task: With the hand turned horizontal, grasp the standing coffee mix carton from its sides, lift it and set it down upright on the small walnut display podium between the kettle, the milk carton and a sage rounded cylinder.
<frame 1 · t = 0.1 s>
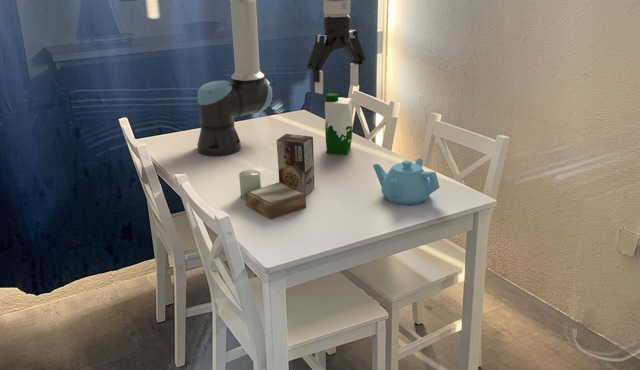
hand: (337, 89, 186), 28 cm above the table, tool pointing down, fingers open, 13 cm apart
milk carton: (339, 151, 220), on the table
teapot: (405, 197, 182), on the table
sage rounded cylinder: (251, 196, 185), on the table
coffee box: (297, 190, 189), on the table
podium: (275, 206, 177), on the table
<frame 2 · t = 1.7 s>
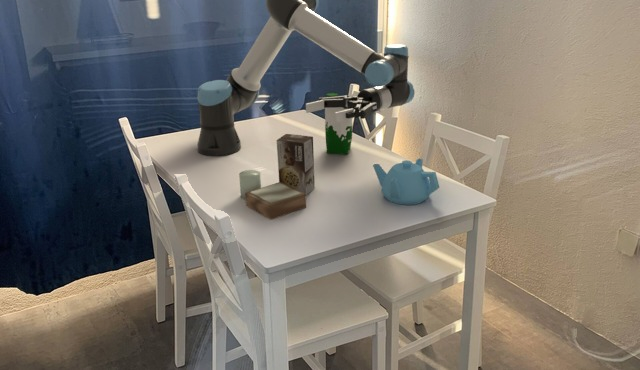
hand: (320, 112, 186), 22 cm above the table, tool horizontal, fingers open, 13 cm apart
nothing on the table moved.
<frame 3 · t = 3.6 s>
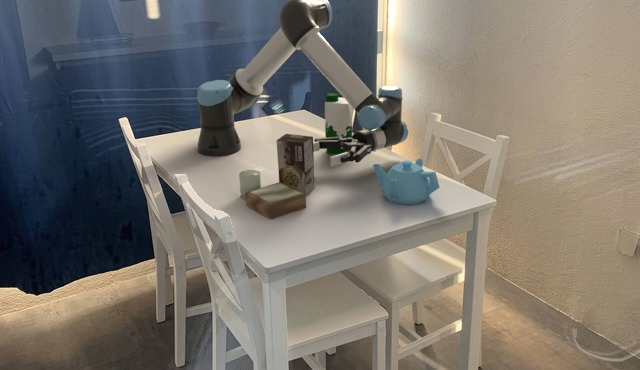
hand: (316, 156, 189), 9 cm above the table, tool horizontal, fingers open, 13 cm apart
nothing on the table moved.
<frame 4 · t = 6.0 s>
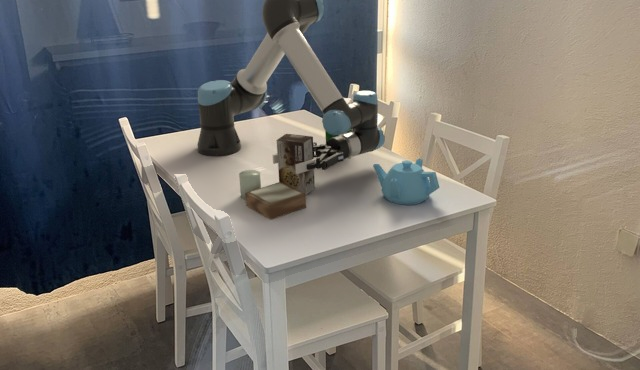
hand: (284, 164, 183), 9 cm above the table, tool horizontal, fingers closed on coffee box, 10 cm apart
coffee box: (297, 189, 189), on the table, touching gripper
everything else where it was.
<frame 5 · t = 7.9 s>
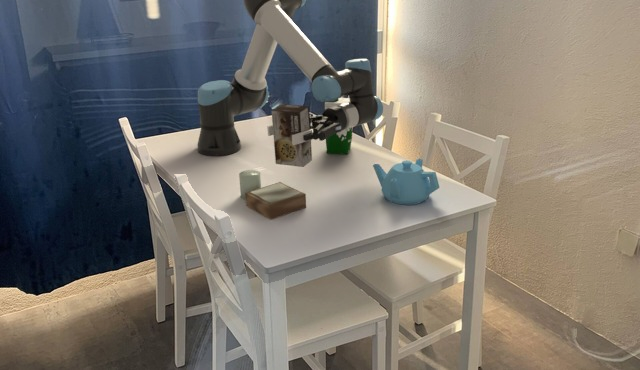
hand: (280, 135, 175), 19 cm above the table, tool horizontal, fingers closed on coffee box, 10 cm apart
coffee box: (293, 162, 181), point 10 cm above the table, touching gripper
everything else where it was.
when the fingers open (14 cm above the table, at t = 10.0 s): coffee box drops 1 cm, resting on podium.
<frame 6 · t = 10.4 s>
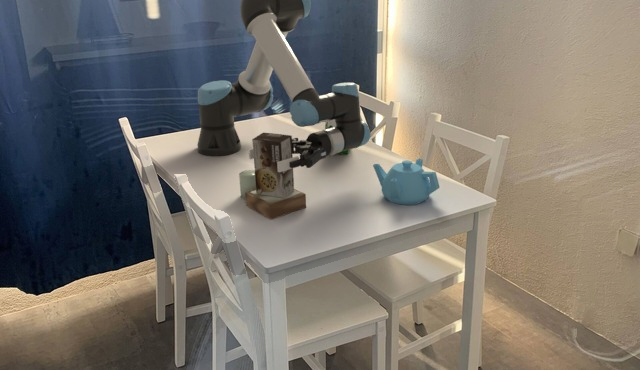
hand: (263, 160, 170), 14 cm above the table, tool horizontal, fingers open, 13 cm apart
coffee box: (275, 192, 176), point 4 cm above the table, touching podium
everything else where it was.
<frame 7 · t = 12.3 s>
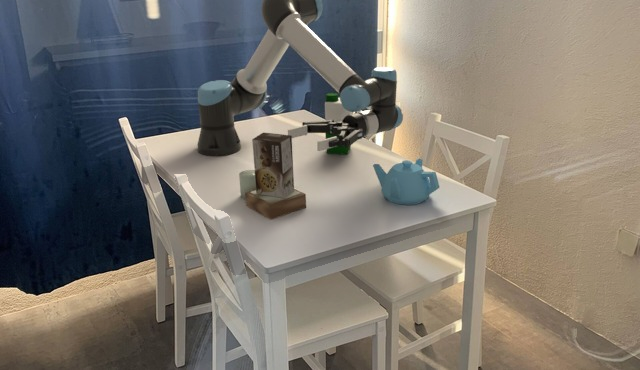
hand: (302, 140, 177), 17 cm above the table, tool horizontal, fingers open, 13 cm apart
nothing on the table moved.
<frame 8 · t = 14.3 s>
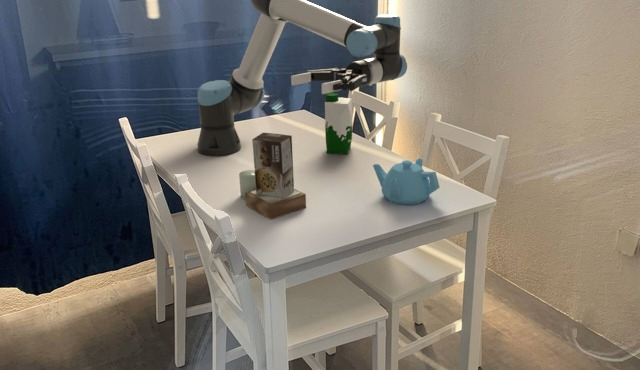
hand: (306, 84, 174), 32 cm above the table, tool horizontal, fingers open, 13 cm apart
nothing on the table moved.
at the end: coffee box inside the target area on the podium (0.1 cm from its centre), point 4.1 cm above the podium's base; coffee box tilted 0°; the gripper is holding nothing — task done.
